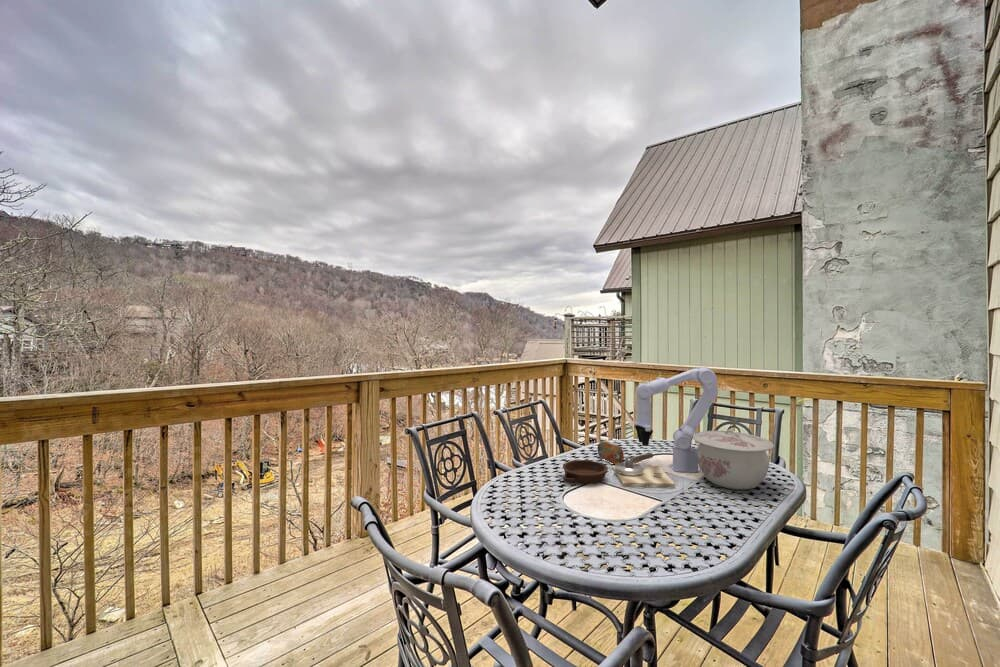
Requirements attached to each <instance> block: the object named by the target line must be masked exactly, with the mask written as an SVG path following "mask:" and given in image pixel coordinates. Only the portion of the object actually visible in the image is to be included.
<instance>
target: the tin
mask: <svg viewBox="0 0 1000 667" xmlns="http://www.w3.org/2000/svg"><path fill="white" fill-rule="evenodd" d="M597 454H598V457H599V458H600V459H601V458H602V459H605V460H607V461H609V462H611V463H613V464H617V463H621V462H624V456H625V454H624V449H623V448H622V446H620V445H618V444H615V443H612V442H610V441H608V440H607V441H603V440H602V441H600V442H599V443H598V445H597ZM602 459H601V460H602ZM611 463H610V464H611ZM613 464H612V465H613Z"/></svg>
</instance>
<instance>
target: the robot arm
mask: <svg viewBox="0 0 1000 667" xmlns="http://www.w3.org/2000/svg"><path fill="white" fill-rule="evenodd" d="M688 381H692V382H699V383H700V385H701V387H702V391H703V392H702V393H701V395H700V397H699V398H698V400H697V402H696V403H695V405H694V407H693V409H692V410H691V412H690V413H689V415H688V417H687V418H686V420H685V422H683V423H682V425H681V426H680V427H679V428H678V429H676V430H675V431H674V432H673V434H672V435H673V436H672V438H673V440H674V441H673V442H674V444H673V445H672V463H671V464H670V463H669V467H670V468H672V470H673V471H674V472H677V473H678V472H679V473H683V472H684V473H685V472H686V473H699V472H700V471H699V465H698V460H697V448H696V447H692V444H693V440H694V439H693V435H694V434H696V433H695V432H696V430H697V428H698V427H699V426H700V424H701V422H702V421H703V419H704V417H705V416H706V414H707V412H708V411H709V409H710V407H711V406H712V404H713V403H714V401H715V399H716V398H717V396H718V394H719V389H718V388H719V387H718V377H717V375H716V373H715V371H713V370H712V369H710V368H709V367H707V366H700V367H698V368H697V367H695V368H692V369H688V370H685V371H684V372H682V373H678V374H676V375H673V376H671V377H668V378H665V377H660V376H657V377H656V379H654V380H651V381H645V383H641V384H639V385H638V386H637V387H636V390H635V391H636V394H637V395H636V400H637V401H636V421H634V422H633V425H634V429H635V431H636V434H637V438H638V442H639V443H641V445H642V446H643V447H648V446H649V444H650V439H651V436H652V434H653V433H654V430H653V429H652V428H651V426H652V422H651V421H652V420H651V419H652V418H651V417H652V416H651V412H652V411H651V410H652V409H651V408H652V407H651V404H652V403H651V396H652V395H653V396H655V395H658V394H661V393H663V392H666V391H668V390H669V389H670V387H671V386H675V385H678V384H681V383H684V382H688Z"/></svg>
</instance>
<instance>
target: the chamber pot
mask: <svg viewBox="0 0 1000 667" xmlns="http://www.w3.org/2000/svg"><path fill="white" fill-rule="evenodd" d="M692 440H694V441H695V442H697V443H698V445H697V447H696V450H697V460H698V469H700V471H701V472H702V474H703V476H704V478H706V480H707V481H709V482H711V483H712V484H713V485H716V486H718V487H721V488H724V489H728V488H729V490H735V489H736V491H739V490H740V491H744V490H752V489H755V488H757V487H758V486H760V484H761V483H763V481H764V479H765V478H766V476H767V475H768V471H769V469H770V457H769V455H768V453H767V451H771V450H773V449H774V447H775V444H774V443H773V442H772V441H771V440H768V439H766V438H763V437H761V436H758V435H755V434H750V433H745V432H740V431H735V430H733V429H731V428H730V429H729V428H728V429H726V430H705V431H700V432H696V433H694V435H693V439H692Z"/></svg>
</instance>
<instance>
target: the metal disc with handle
mask: <svg viewBox="0 0 1000 667" xmlns="http://www.w3.org/2000/svg"><path fill="white" fill-rule="evenodd" d="M653 457H654V455H653V453H652V452H649V453H644V454H640V455H636V456H631V457H625V459H624V461H623V462H621V463H617V464H615V465H614V466H615V471H616V472H617V473H619V474H622V475H627V476H639V475H642V474H643V466H644V465H641V464H639V463H636V462H640V461H641V462H642V461H644V460H649V459H652V458H653Z"/></svg>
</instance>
